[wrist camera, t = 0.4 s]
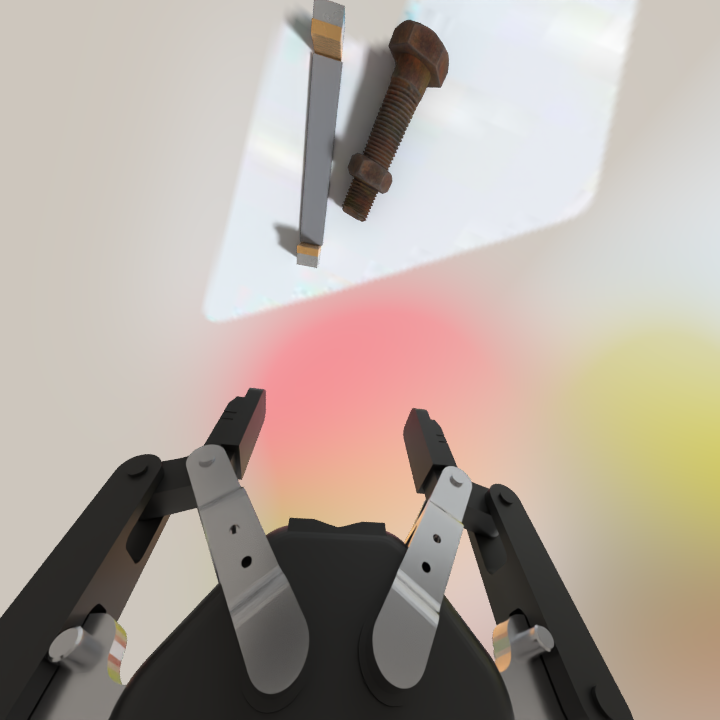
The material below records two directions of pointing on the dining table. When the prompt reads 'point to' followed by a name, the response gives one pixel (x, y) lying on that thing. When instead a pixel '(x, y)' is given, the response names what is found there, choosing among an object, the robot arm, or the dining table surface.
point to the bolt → (396, 111)
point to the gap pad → (319, 146)
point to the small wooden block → (308, 254)
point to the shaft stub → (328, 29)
